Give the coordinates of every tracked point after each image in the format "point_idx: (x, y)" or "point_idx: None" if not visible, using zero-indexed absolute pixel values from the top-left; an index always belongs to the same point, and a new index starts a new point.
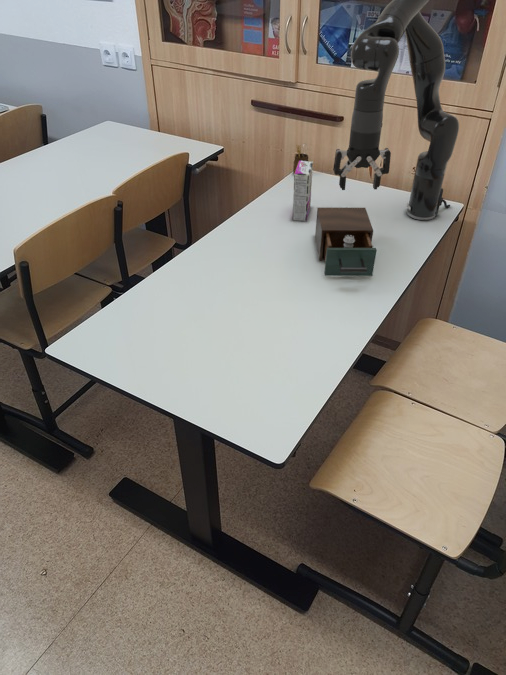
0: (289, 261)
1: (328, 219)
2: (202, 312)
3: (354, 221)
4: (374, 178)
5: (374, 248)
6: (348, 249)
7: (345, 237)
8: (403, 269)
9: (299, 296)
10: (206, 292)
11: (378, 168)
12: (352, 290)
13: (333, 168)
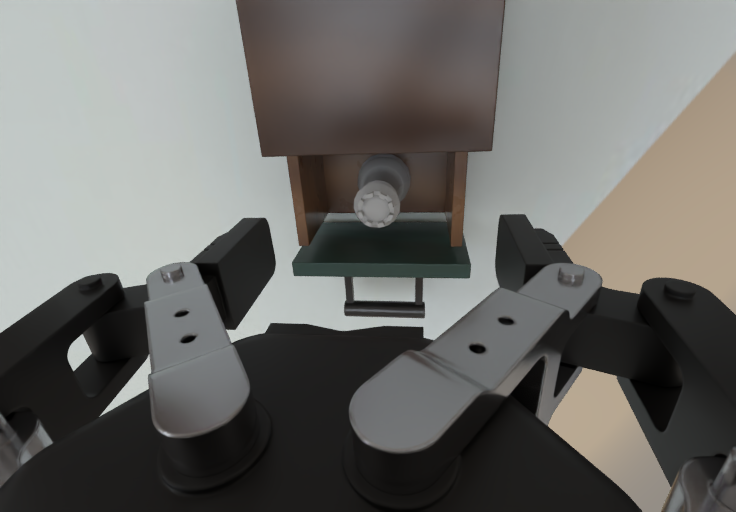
0: (209, 136)
1: (284, 39)
2: (79, 347)
3: (415, 57)
4: (513, 266)
5: (464, 269)
6: (367, 275)
7: (358, 214)
8: (580, 176)
9: (261, 303)
10: (52, 285)
11: (551, 409)
12: (393, 282)
13: (64, 297)
